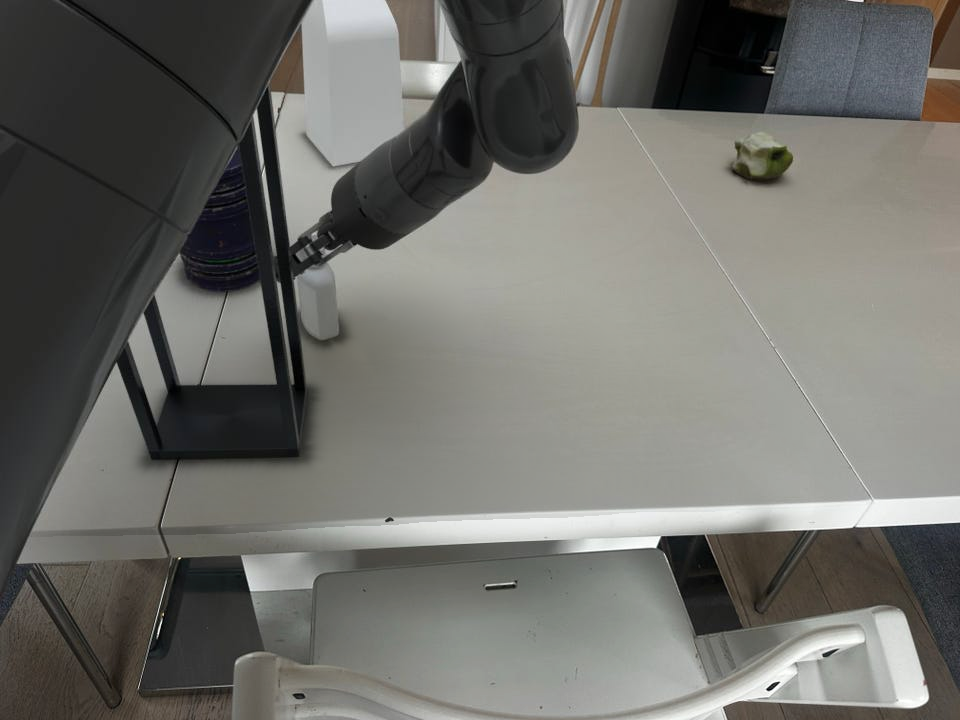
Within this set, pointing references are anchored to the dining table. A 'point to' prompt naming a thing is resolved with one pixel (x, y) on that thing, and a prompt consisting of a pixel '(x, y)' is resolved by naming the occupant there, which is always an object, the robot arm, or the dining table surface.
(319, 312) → the eye dropper bottle
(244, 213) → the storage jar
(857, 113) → the dining table surface
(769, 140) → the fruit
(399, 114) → the milk
